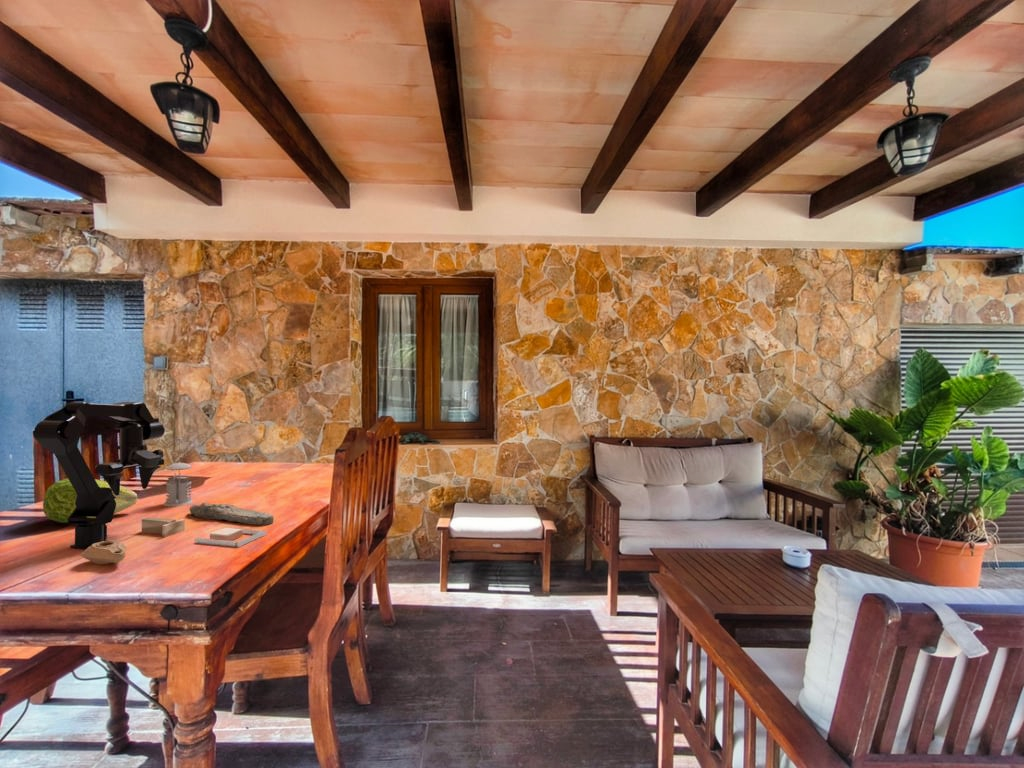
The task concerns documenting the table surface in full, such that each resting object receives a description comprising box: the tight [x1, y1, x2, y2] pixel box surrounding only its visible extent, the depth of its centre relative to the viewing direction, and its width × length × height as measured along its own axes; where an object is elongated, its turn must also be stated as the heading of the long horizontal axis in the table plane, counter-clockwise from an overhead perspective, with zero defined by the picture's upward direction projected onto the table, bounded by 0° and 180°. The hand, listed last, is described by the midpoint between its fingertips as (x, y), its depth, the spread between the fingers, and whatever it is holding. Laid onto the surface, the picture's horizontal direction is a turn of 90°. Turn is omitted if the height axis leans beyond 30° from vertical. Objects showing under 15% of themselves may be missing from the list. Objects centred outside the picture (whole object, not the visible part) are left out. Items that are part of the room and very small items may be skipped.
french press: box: [162, 437, 194, 507], centre depth 190 cm, size 10×12×25 cm
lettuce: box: [42, 477, 138, 524], centre depth 169 cm, size 17×24×14 cm
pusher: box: [141, 516, 186, 538], centre depth 156 cm, size 7×11×4 cm, turn 79°
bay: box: [194, 526, 267, 548], centre depth 151 cm, size 12×14×1 cm
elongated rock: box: [188, 502, 274, 526], centre depth 173 cm, size 35×5×10 cm
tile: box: [209, 527, 243, 541], centre depth 152 cm, size 6×6×2 cm
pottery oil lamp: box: [80, 539, 127, 566], centre depth 130 cm, size 9×12×7 cm
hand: (131, 492), depth 157 cm, fingers open, 9 cm apart
